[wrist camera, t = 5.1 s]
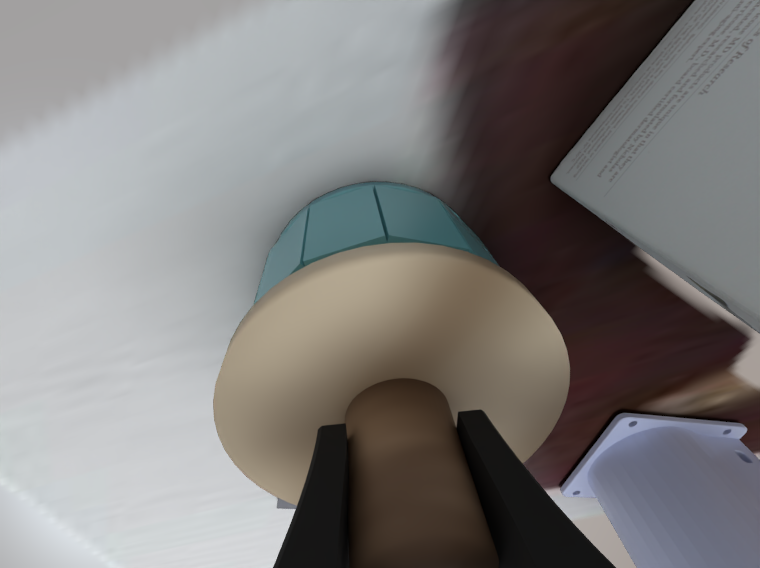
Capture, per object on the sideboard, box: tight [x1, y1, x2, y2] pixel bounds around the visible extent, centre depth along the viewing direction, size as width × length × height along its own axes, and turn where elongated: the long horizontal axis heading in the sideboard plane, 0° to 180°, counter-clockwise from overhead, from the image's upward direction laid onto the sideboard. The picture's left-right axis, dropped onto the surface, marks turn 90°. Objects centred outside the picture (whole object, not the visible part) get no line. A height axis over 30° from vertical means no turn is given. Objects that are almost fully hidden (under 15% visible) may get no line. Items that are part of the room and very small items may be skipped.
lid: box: [213, 243, 570, 568], centre depth 10 cm, size 10×10×5 cm
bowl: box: [254, 182, 500, 304], centre depth 15 cm, size 9×9×5 cm
